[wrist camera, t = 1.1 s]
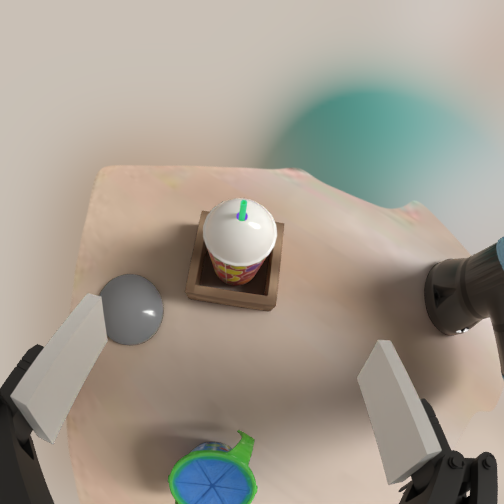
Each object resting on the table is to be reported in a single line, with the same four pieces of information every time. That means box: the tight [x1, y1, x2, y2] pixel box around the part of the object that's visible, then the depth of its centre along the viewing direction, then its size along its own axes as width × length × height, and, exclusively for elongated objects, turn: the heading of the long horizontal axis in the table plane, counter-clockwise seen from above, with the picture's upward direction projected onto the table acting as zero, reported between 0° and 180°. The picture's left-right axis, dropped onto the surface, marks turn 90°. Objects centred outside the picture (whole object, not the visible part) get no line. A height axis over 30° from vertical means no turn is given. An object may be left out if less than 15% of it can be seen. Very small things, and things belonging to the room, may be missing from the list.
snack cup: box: [168, 430, 257, 504], centre depth 30 cm, size 16×10×10 cm
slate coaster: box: [100, 274, 164, 345], centre depth 41 cm, size 11×11×1 cm
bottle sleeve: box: [185, 211, 284, 311], centre depth 43 cm, size 12×12×5 cm
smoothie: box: [203, 198, 277, 286], centre depth 36 cm, size 8×8×20 cm
